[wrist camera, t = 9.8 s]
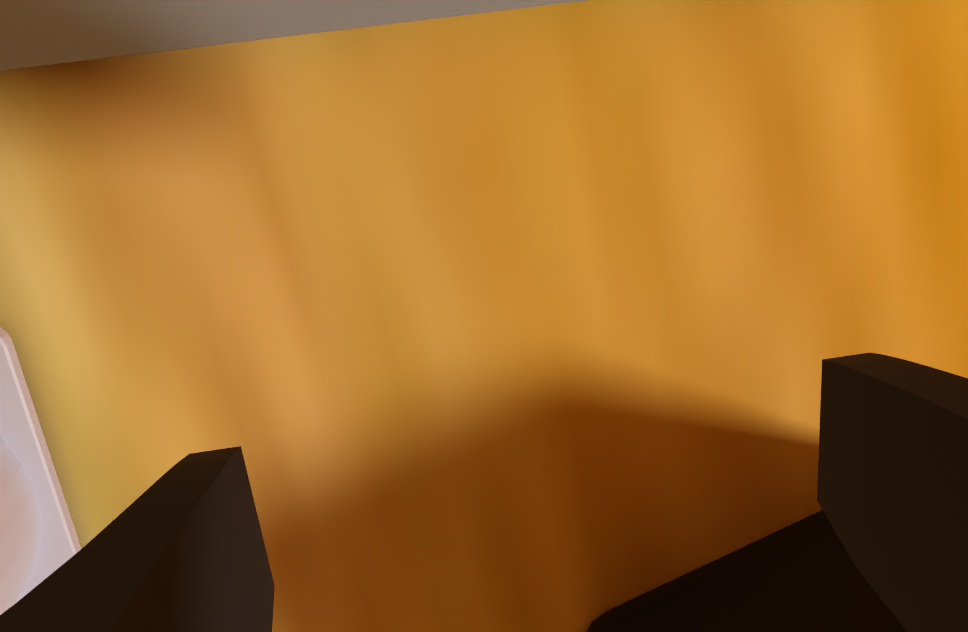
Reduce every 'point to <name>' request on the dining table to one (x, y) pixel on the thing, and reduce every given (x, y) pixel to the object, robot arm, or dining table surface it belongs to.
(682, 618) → the electronic device
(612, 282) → the dining table surface
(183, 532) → the robot arm
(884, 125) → the dining table surface
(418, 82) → the dining table surface
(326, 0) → the board
